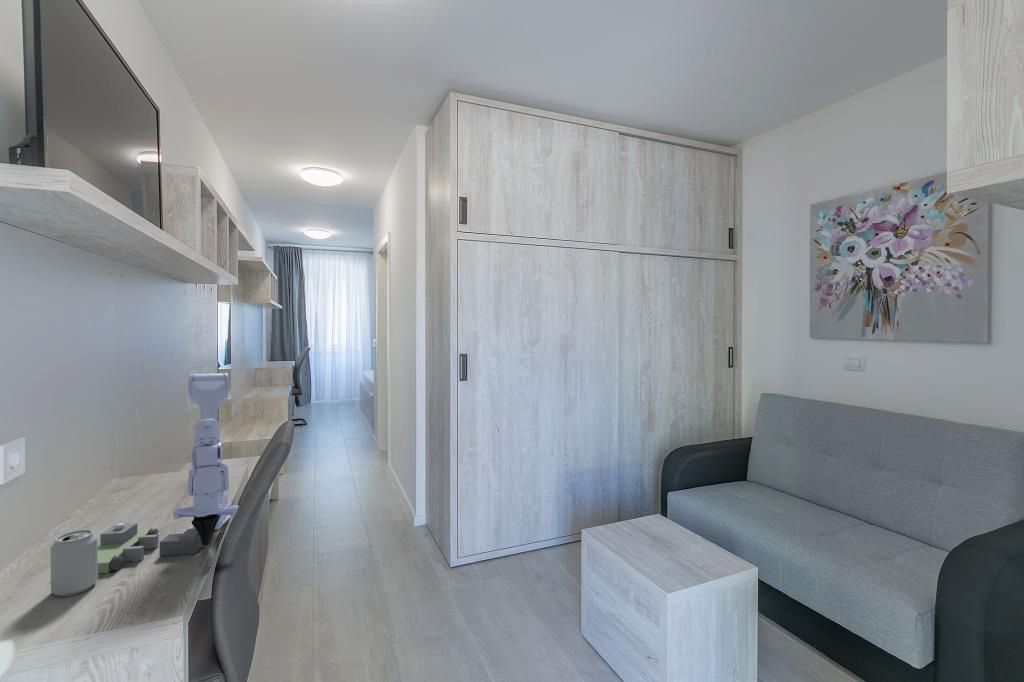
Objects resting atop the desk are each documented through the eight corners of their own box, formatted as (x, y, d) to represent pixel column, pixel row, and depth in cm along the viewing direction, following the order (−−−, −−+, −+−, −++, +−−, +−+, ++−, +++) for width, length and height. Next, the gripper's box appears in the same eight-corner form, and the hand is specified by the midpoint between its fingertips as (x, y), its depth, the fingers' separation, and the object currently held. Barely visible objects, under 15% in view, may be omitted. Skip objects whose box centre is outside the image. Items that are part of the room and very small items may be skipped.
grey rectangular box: (168, 548, 121) (168, 530, 120) (203, 545, 122) (203, 528, 122) (159, 556, 116) (159, 537, 116) (195, 553, 118) (195, 535, 118)
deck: (108, 541, 124) (108, 518, 124) (169, 537, 127) (169, 514, 127) (55, 577, 106) (55, 550, 106) (127, 571, 109) (127, 545, 109)
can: (62, 582, 104) (62, 529, 104) (104, 577, 107) (103, 525, 106) (42, 601, 97) (42, 544, 97) (87, 594, 100) (87, 539, 99)
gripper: (167, 498, 115) (167, 553, 115) (231, 495, 117) (231, 548, 118) (181, 488, 122) (181, 540, 122) (242, 486, 124) (241, 536, 125)
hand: (206, 543), depth 120 cm, fingers closed
